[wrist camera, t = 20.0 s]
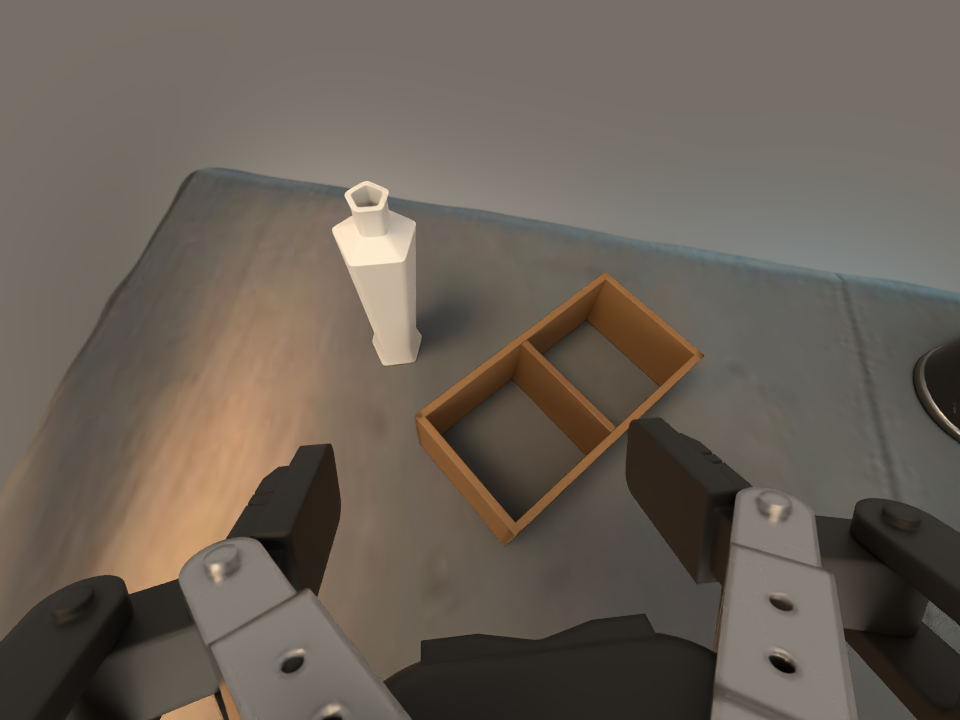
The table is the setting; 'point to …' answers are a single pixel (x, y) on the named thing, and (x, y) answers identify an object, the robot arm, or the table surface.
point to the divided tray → (557, 389)
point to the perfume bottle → (382, 270)
